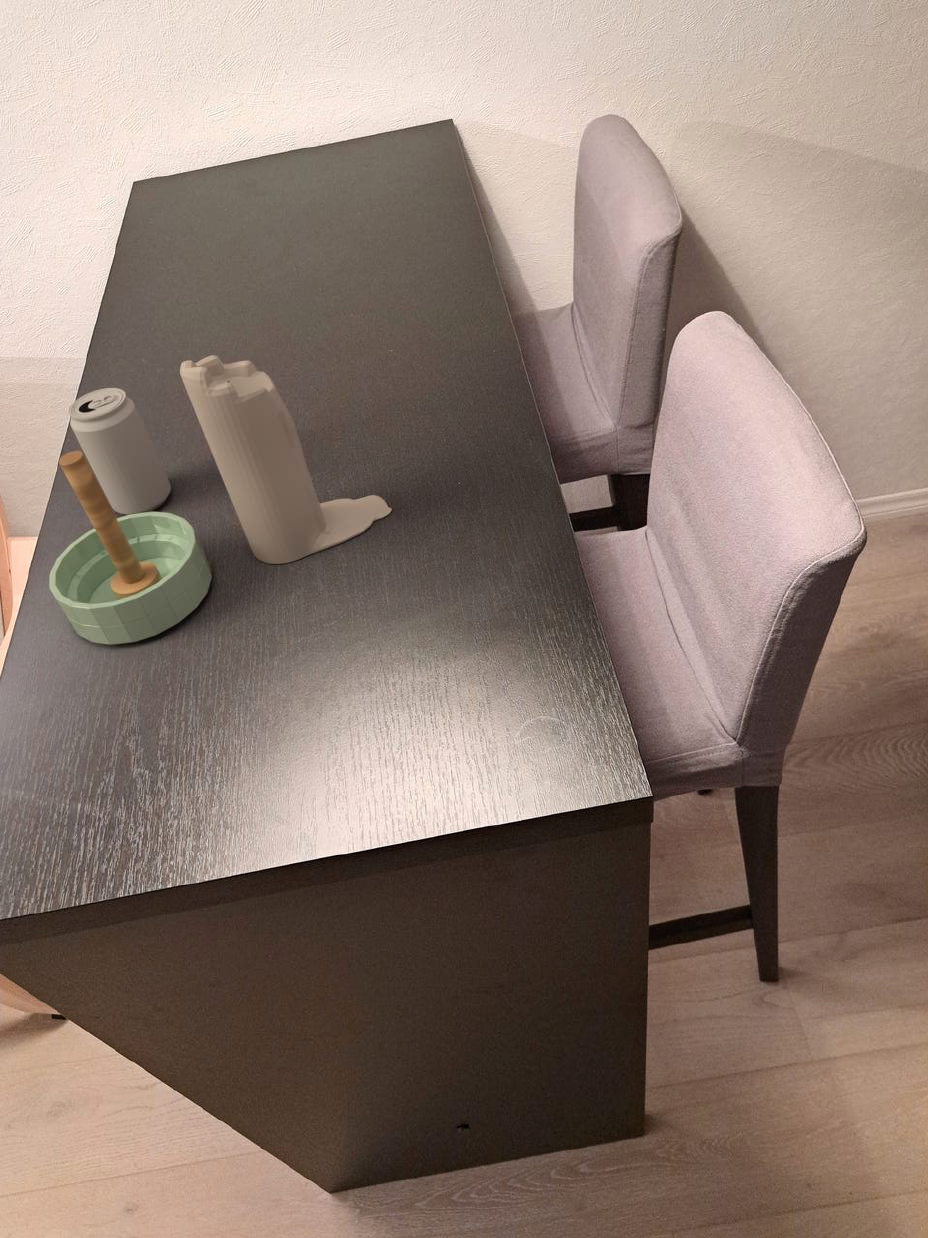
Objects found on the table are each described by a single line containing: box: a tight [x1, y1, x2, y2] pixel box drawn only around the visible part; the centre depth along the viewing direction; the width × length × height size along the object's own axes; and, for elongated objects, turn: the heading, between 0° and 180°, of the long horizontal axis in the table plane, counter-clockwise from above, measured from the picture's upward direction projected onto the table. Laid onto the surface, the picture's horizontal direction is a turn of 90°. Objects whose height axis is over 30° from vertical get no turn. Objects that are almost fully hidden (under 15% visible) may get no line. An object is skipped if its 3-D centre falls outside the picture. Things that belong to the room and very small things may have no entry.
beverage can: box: [68, 387, 172, 516], centre depth 96 cm, size 6×6×12 cm
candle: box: [179, 354, 392, 565], centre depth 84 cm, size 7×14×20 cm, turn 113°
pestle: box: [58, 450, 162, 600], centre depth 82 cm, size 4×4×15 cm
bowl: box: [48, 511, 213, 646], centre depth 86 cm, size 13×13×5 cm
